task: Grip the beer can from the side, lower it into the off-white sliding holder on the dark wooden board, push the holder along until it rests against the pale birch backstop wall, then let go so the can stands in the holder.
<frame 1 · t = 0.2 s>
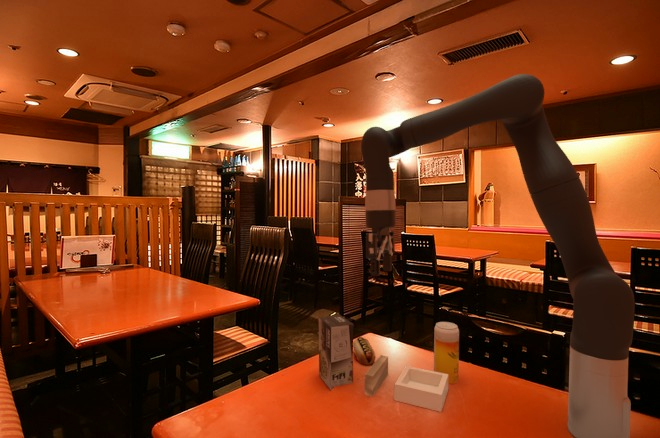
hand: (381, 273, 90), 29 cm above the table, tool pointing down, fingers open, 8 cm apart
backstop board: (412, 397, 85), on the table
beer can: (445, 382, 92), on the table
sliding holder: (422, 386, 84), point 3 cm above the table, slide at 0.0 cm
hot dog: (363, 360, 106), on the table
coffee box: (335, 381, 93), on the table
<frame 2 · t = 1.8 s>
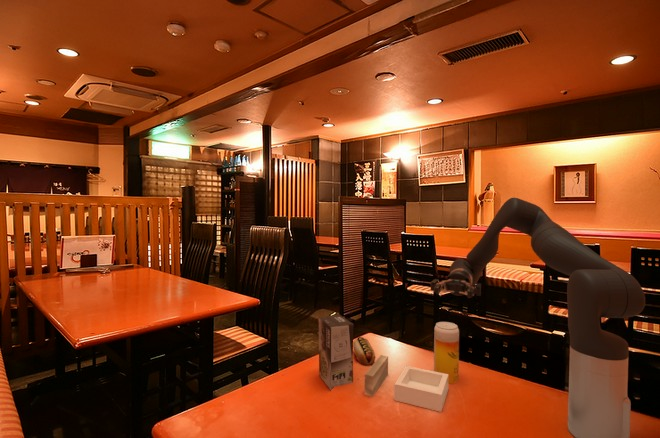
hand: (452, 292, 102), 21 cm above the table, tool horizontal, fingers open, 8 cm apart
nothing on the table moved.
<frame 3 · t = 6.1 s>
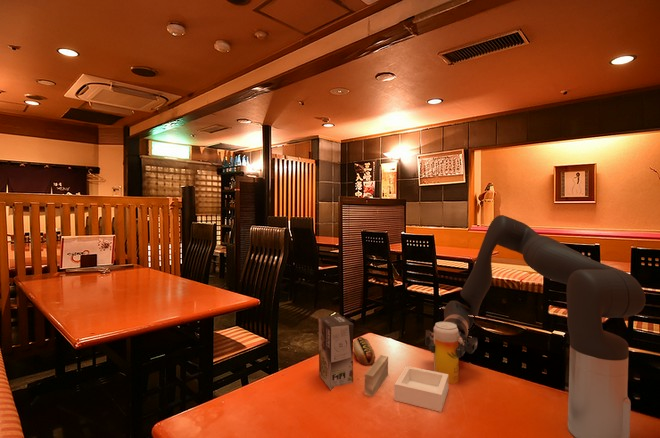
hand: (445, 351, 90), 9 cm above the table, tool horizontal, fingers closed on beer can, 5 cm apart
beer can: (446, 382, 92), on the table, touching gripper
everything else where it was.
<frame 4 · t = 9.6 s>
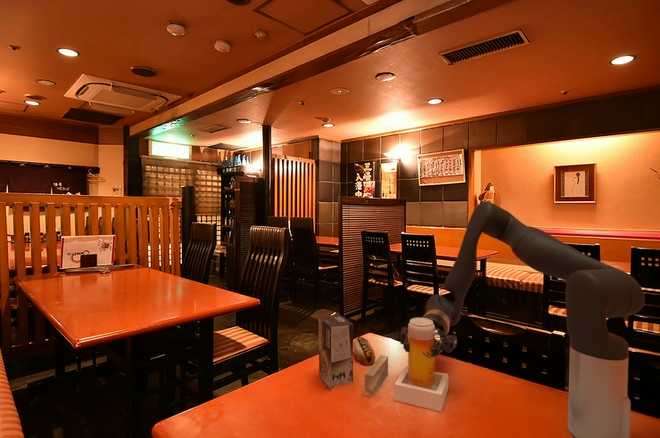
hand: (420, 350, 82), 13 cm above the table, tool horizontal, fingers closed on beer can, 5 cm apart
beer can: (421, 384, 85), point 3 cm above the table, touching gripper
everything else where it was.
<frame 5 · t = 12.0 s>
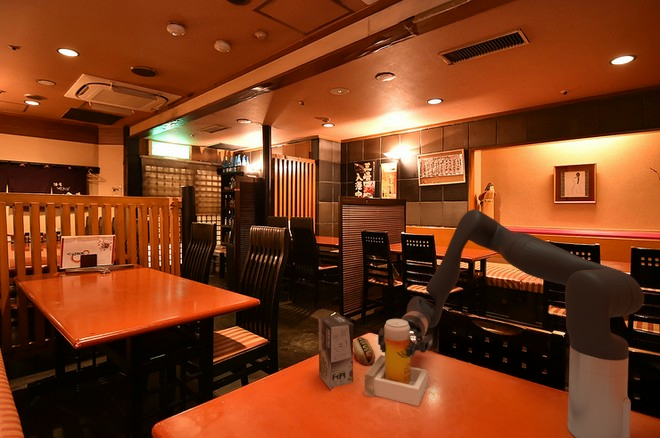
hand: (395, 350, 84), 12 cm above the table, tool horizontal, fingers closed on beer can, 5 cm apart
beer can: (397, 383, 87), point 2 cm above the table, touching gripper, sliding holder
sliding holder: (401, 382, 86), point 3 cm above the table, slide at 5.0 cm, touching backstop board, beer can
everything else where it was.
when the fingers open (12 cm above the table, at t = 13.1 s): beer can stays where it is, resting on sliding holder.
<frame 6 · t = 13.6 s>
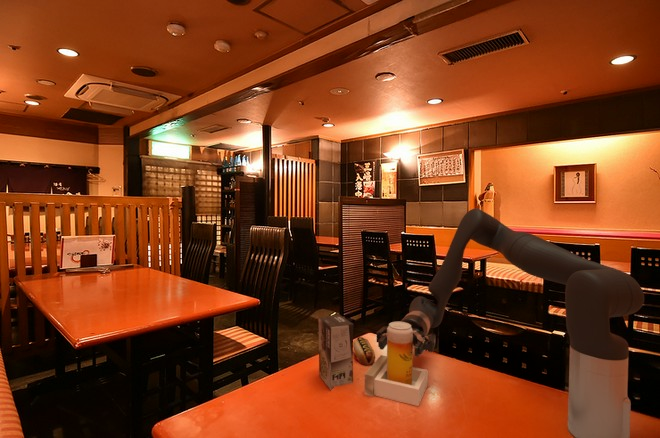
hand: (398, 348, 84), 12 cm above the table, tool horizontal, fingers open, 8 cm apart
beer can: (399, 386, 87), point 2 cm above the table, touching sliding holder
sliding holder: (401, 382, 86), point 3 cm above the table, slide at 4.9 cm, touching beer can
everything else where it was.
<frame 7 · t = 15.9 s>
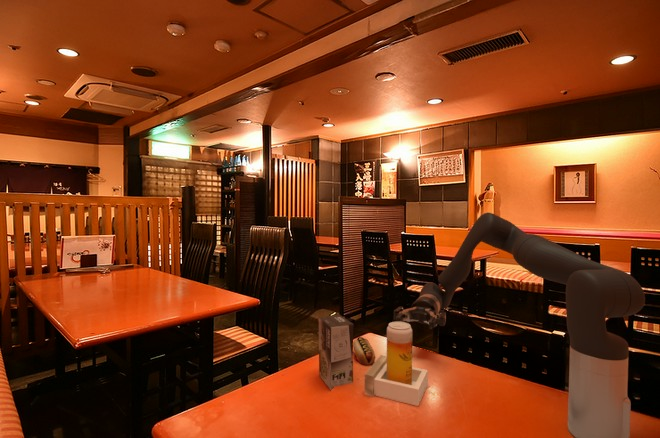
hand: (414, 323, 97), 14 cm above the table, tool horizontal, fingers open, 8 cm apart
nothing on the table moved.
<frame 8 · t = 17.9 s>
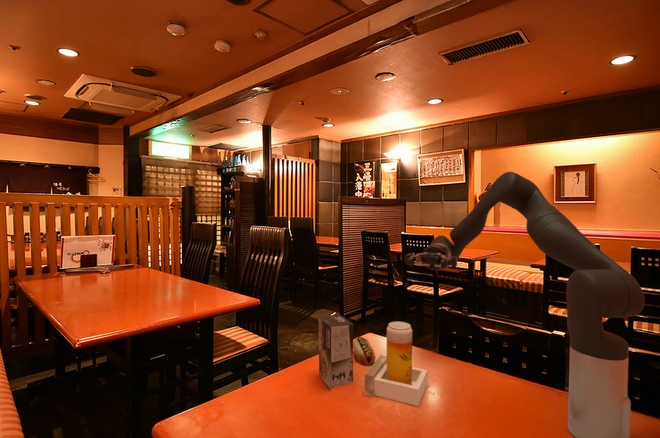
hand: (426, 263, 97), 30 cm above the table, tool horizontal, fingers open, 8 cm apart
nothing on the table moved.
at the end: beer can 0.2 cm from the target spot, point 1.7 cm above the table; sliding holder slide at 5.0 cm; beer can tilted 0° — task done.
